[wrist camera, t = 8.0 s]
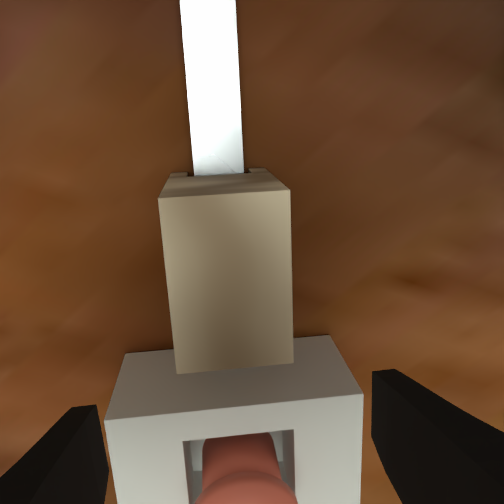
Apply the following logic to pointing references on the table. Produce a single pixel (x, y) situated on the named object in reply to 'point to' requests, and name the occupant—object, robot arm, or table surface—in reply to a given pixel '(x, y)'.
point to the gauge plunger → (242, 471)
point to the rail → (213, 85)
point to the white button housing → (236, 423)
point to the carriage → (228, 270)
